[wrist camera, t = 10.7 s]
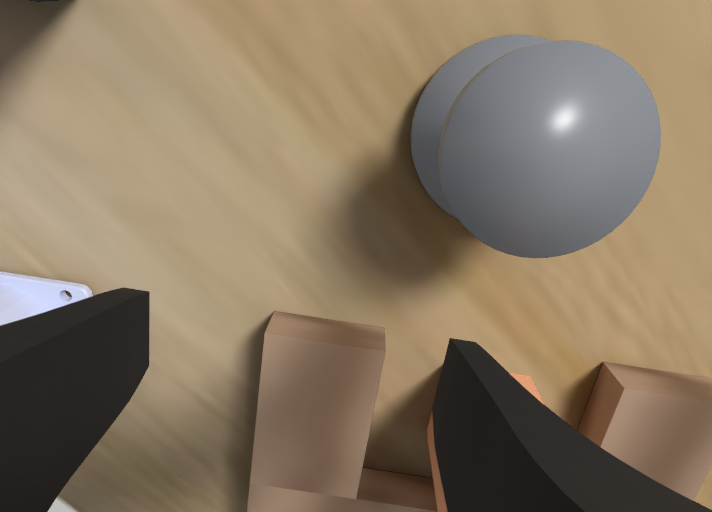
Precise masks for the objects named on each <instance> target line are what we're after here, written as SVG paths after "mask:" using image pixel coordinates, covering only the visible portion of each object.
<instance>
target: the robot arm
mask: <svg viewBox="0 0 712 512" xmlns="http://www.w3.org/2000/svg"><path fill="white" fill-rule="evenodd" d="M65 290H66V291H69V292H70V293H71V295H72V298H71V297H69V296H68V295H67V294H66V292H65ZM148 367H149V292H148V291H141V290H135V289H128V288H120V289H115V290H111V291H108V292H104V293H101V294H98V295H95V296H93V294H92V291H91V290H90V288H88V287H87V286H86V285H83V284H78V283H72V282H65V281H59V280H52V279H46V278H39V277H33V276H26V275H20V274H13V273H7V272H1V271H0V512H47V511H48V510H49V508H50V507H51V505H52V503H53V502H54V500H55V499H56V497H57V496H58V494H59V493H60V492H61V490H62V489H63V487H64V486H65V485H66V483H67V482H68V480H69V479H70V478H71V476H72V475H73V474H74V472H75V471H76V470H77V469H78V467H79V466H80V465H81V463H82V462H83V461H84V460H85V458H86V457H87V456H88V454H89V453H90V452H91V451H92V449H93V448H94V447H95V445H96V444H97V443H98V441H99V440H100V439H101V438H102V436H103V435H104V434H105V432H106V431H107V430H108V429H109V427H110V426H111V425H112V423H113V422H114V421H115V419H116V418H117V417H118V415H119V414H120V413H121V411H122V410H123V409H124V407H125V406H126V405H127V403H128V402H129V401H130V399H131V397H132V395H133V394H134V392H135V390H136V389H137V387H138V385H139V383H140V382H141V380H142V378H143V376H144V374H145V372H146V370H147V369H148ZM432 414H433V432H434V446H435V452H436V457H437V462H438V467H439V472H440V477H441V482H442V487H443V492H444V497H445V502H446V507H447V512H712V510H710V509H708V508H706V507H704V506H702V505H701V504H699V503H697V502H695V501H693V500H691V499H689V498H687V497H685V496H683V495H681V494H679V493H677V492H675V491H673V490H671V489H669V488H668V487H666V486H664V485H662V484H660V483H659V482H657V481H655V480H653V479H651V478H650V477H648V476H646V475H644V474H643V473H641V472H640V471H638V470H636V469H635V468H633V467H631V466H630V465H628V464H626V463H625V462H623V461H621V460H620V459H618V458H616V457H615V456H613V455H612V454H610V453H609V452H607V451H605V450H604V449H602V448H601V447H599V446H598V445H597V444H595V443H594V442H592V441H591V440H590V439H588V438H587V437H585V436H584V435H582V434H581V433H580V432H578V431H577V430H575V429H574V428H573V427H571V426H570V425H569V424H567V423H566V422H565V421H563V420H562V419H561V418H560V417H558V416H557V415H556V414H555V413H554V412H552V411H551V410H550V409H549V408H548V407H546V406H545V405H544V404H543V403H541V402H540V401H539V400H538V399H537V398H536V397H535V396H533V395H532V394H531V393H530V392H529V391H528V390H527V389H526V388H524V387H523V386H522V385H521V384H520V383H519V382H518V381H517V380H516V379H515V378H514V377H513V376H512V375H511V374H509V373H508V372H507V371H506V370H505V369H504V368H503V367H502V366H501V365H500V364H499V363H498V362H497V361H496V360H495V359H494V358H493V357H492V356H491V355H490V354H488V353H487V352H486V351H485V350H484V349H483V348H482V347H481V346H480V345H478V344H477V343H476V342H471V341H464V340H458V339H452V338H450V340H449V344H448V348H447V352H446V356H445V360H444V364H443V368H442V372H441V376H440V380H439V384H438V388H437V392H436V396H435V400H434V404H433V408H432Z"/></svg>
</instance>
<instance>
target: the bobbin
mask: <svg viewBox="0 0 712 512" xmlns="http://www.w3.org/2000/svg"><path fill="white" fill-rule="evenodd" d="M660 144H661V128H660V118H659V114H658V110H657V106H656V103H655V100H654V98H653V96H652V93H651V91H650V89H649V88H648V86H647V84H646V83H645V81H644V79H643V78H642V77H641V76H640V75H639V73H638V72H637V71H636V70H635V69H634V68H633V67H632V66H631V65H630V64H629V63H627V62H626V61H625V60H624V59H623V58H621V57H619V56H618V55H616V54H615V53H613V52H611V51H609V50H607V49H604V48H602V47H599V46H597V45H593V44H589V43H585V42H577V41H549V40H547V39H543V38H539V37H535V36H528V35H505V36H500V37H495V38H491V39H488V40H485V41H482V42H479V43H476V44H474V45H472V46H470V47H468V48H466V49H464V50H462V51H461V52H459V53H458V54H456V55H455V56H453V57H452V58H451V59H449V60H448V61H447V62H446V63H445V64H443V65H442V66H441V67H440V69H439V70H438V71H437V72H436V73H435V74H434V75H433V77H432V78H431V79H430V81H429V82H428V84H427V85H426V87H425V88H424V90H423V92H422V94H421V96H420V98H419V100H418V103H417V105H416V108H415V111H414V115H413V119H412V125H411V152H412V158H413V162H414V166H415V169H416V171H417V174H418V176H419V178H420V181H421V183H422V184H423V186H424V188H425V189H426V191H427V193H428V194H429V195H430V196H431V198H432V199H433V200H434V201H435V202H436V203H437V204H438V205H439V206H440V207H441V208H442V209H443V210H444V211H446V212H447V213H449V214H450V215H451V216H453V217H455V218H457V219H459V220H460V222H461V223H462V224H463V226H464V227H465V228H466V229H467V230H468V231H469V232H470V233H471V234H472V235H473V236H474V237H476V238H477V239H479V240H480V241H481V242H483V243H484V244H486V245H488V246H490V247H492V248H494V249H496V250H498V251H501V252H504V253H506V254H510V255H514V256H519V257H528V258H548V257H555V256H561V255H565V254H568V253H572V252H575V251H578V250H580V249H583V248H585V247H587V246H589V245H591V244H593V243H595V242H597V241H599V240H600V239H602V238H603V237H605V236H606V235H608V234H609V233H611V232H612V231H613V230H614V229H615V228H616V227H618V226H619V225H620V224H621V223H622V222H623V221H624V220H625V219H626V218H627V217H628V216H629V215H630V214H631V213H632V211H633V210H634V209H635V207H636V206H637V205H638V203H639V202H640V201H641V199H642V197H643V196H644V194H645V192H646V190H647V189H648V187H649V184H650V182H651V180H652V178H653V175H654V172H655V169H656V166H657V162H658V158H659V152H660Z"/></svg>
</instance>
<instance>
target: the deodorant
mask: <svg viewBox="0 0 712 512" xmlns="http://www.w3.org/2000/svg"><path fill="white" fill-rule="evenodd" d="M31 1H35V2H39V1H57V0H31Z"/></svg>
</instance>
